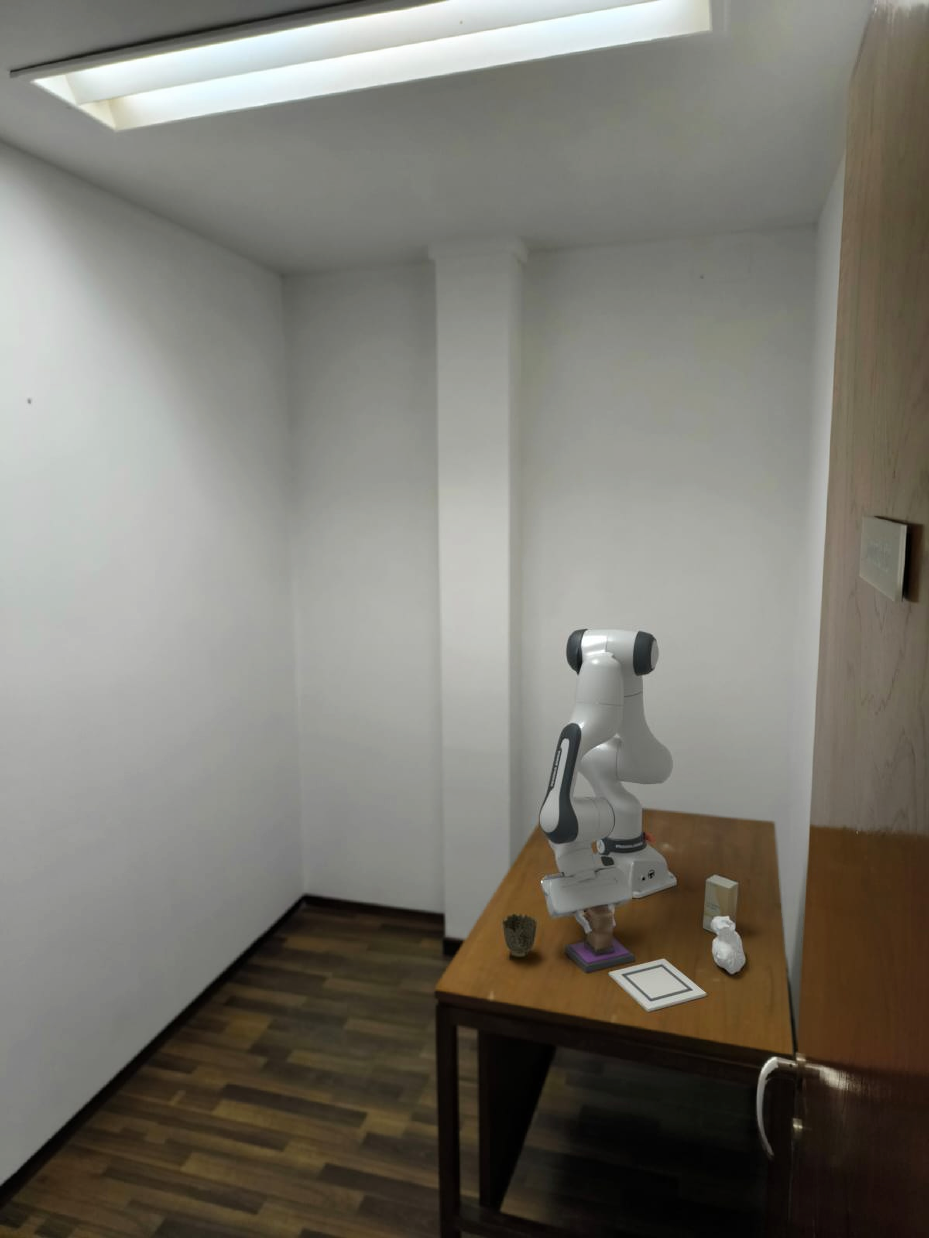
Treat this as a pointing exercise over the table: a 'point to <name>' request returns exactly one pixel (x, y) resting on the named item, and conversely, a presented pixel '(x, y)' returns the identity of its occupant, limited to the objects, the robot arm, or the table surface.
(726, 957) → the bust
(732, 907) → the skincare box
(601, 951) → the stamp
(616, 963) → the ink pad
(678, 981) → the print card
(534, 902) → the table surface
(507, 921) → the cup
